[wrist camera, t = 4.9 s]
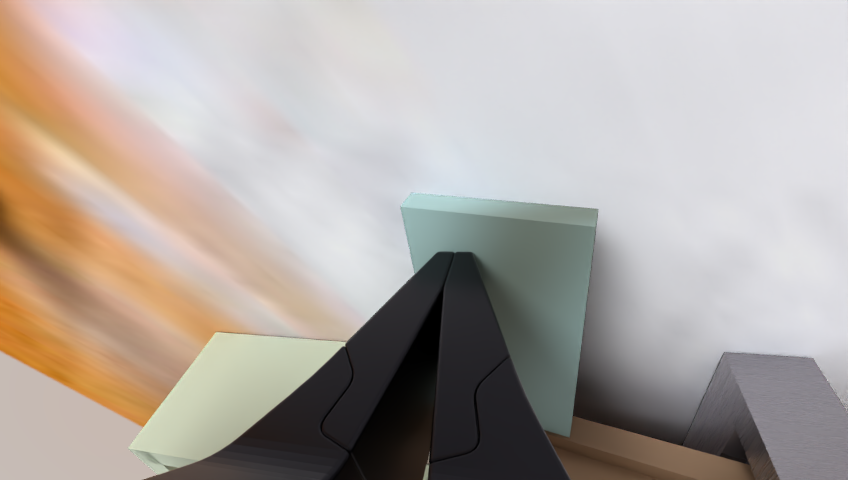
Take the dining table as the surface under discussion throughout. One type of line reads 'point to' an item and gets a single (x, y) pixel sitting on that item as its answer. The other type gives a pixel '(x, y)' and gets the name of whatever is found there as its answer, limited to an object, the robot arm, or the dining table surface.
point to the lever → (549, 325)
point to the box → (227, 395)
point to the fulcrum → (773, 418)
